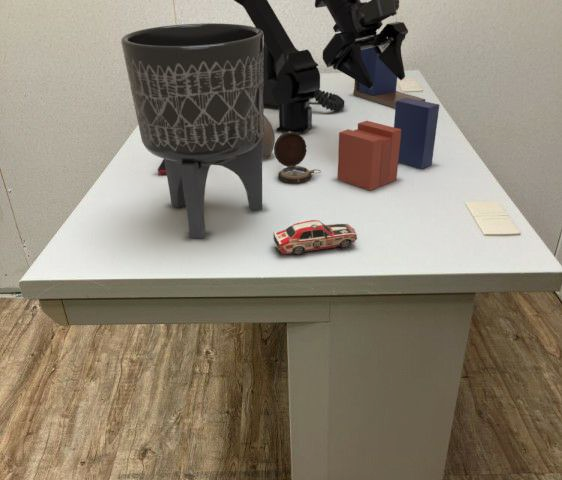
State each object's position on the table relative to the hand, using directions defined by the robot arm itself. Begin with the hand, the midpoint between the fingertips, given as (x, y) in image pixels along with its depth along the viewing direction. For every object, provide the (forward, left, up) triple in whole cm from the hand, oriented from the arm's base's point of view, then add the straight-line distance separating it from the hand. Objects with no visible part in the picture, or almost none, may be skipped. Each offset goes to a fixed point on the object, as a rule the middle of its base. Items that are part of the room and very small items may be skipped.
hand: (387, 82), depth 113 cm
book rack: (-10, +43, -13) cm, 46 cm away
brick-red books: (+1, -15, -13) cm, 20 cm away
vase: (-23, -9, -13) cm, 28 cm away
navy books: (-14, +45, -12) cm, 49 cm away
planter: (-18, -39, -13) cm, 45 cm away
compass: (-11, -17, -13) cm, 25 cm away
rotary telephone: (-33, +35, -13) cm, 50 cm away
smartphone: (-36, -17, -13) cm, 42 cm away
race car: (+2, -44, -13) cm, 46 cm away
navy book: (+7, -3, -13) cm, 15 cm away
